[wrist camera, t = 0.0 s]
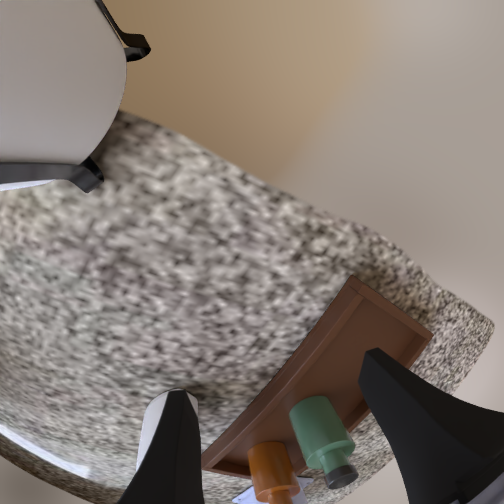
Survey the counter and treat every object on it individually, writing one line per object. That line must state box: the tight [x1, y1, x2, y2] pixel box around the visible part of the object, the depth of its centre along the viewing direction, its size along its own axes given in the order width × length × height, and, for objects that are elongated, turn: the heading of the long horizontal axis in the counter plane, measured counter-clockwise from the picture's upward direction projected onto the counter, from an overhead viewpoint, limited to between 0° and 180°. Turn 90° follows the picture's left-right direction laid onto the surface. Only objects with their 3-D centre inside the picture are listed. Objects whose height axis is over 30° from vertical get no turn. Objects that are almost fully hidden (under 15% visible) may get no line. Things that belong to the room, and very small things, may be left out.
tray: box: [201, 275, 434, 479], centre depth 23 cm, size 25×12×2 cm, turn 147°
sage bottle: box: [289, 396, 359, 489], centre depth 20 cm, size 4×4×9 cm
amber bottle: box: [247, 441, 301, 504], centre depth 21 cm, size 4×4×9 cm
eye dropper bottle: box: [136, 389, 198, 472], centre depth 16 cm, size 4×6×12 cm
